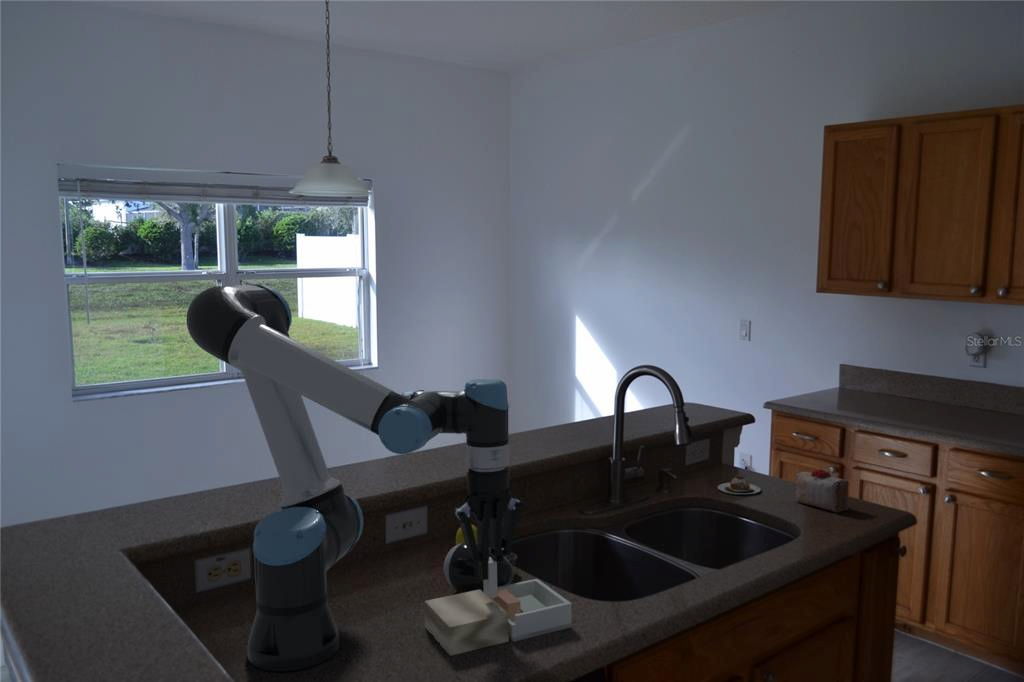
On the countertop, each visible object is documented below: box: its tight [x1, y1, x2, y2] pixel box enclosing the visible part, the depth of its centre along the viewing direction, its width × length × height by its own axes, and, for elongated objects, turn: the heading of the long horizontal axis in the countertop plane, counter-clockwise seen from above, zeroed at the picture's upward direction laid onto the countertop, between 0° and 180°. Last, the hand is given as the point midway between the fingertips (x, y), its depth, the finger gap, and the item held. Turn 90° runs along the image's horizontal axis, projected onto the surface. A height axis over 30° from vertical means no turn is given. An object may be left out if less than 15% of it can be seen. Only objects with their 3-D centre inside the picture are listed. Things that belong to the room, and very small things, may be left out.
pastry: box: [717, 474, 762, 496], centre depth 230 cm, size 12×12×5 cm
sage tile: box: [517, 595, 546, 613], centre depth 146 cm, size 4×6×2 cm
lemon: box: [455, 523, 477, 546], centre depth 178 cm, size 6×6×8 cm
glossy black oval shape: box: [443, 542, 515, 594], centre depth 157 cm, size 10×10×15 cm
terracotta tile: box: [494, 589, 521, 622], centre depth 145 cm, size 4×6×2 cm
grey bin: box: [491, 578, 573, 643], centre depth 146 cm, size 12×13×4 cm
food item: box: [794, 469, 850, 514], centre depth 214 cm, size 14×8×10 cm, turn 35°
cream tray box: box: [424, 589, 510, 656], centre depth 141 cm, size 11×12×5 cm
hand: (490, 594), depth 143 cm, fingers closed
